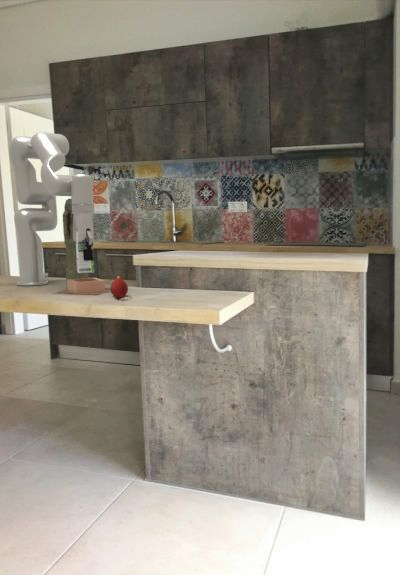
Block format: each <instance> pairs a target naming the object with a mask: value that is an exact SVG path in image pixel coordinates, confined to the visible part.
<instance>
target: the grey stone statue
mask: <svg viewBox="0 0 400 575" xmlns="http://www.w3.org/2000/svg"><path fill="white" fill-rule="evenodd" d="M73 216H74V214H72V198H67V199H66V200H65V203H64V211H63V213H62V225H63V226H62V227H63V240H64V245H65V256H66V258H65V260H66V268H65V281H66V282H65V283H67V280H68V279H83V278H90V277H89V273H78V272H77V257H76V241H74V240H73Z"/></svg>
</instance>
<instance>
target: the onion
mask: <svg viewBox="0 0 400 575" xmlns="http://www.w3.org/2000/svg"><path fill="white" fill-rule="evenodd" d="M128 287H129V286H128V284H127V282H126V281H125V280H124V279H123V278H121V276H119V275H117V276H116V279H114V280H113V281H112V282H111V284H110V288H111V289H110V290H111V291H110V293H111V294H112V296H113V297H115V298H116V299H117V300H119V301H120V300H121V299H123V298H124V297H125V296H126V295H127V293H128V291H129V288H128Z"/></svg>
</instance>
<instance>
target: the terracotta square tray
mask: <svg viewBox="0 0 400 575" xmlns="http://www.w3.org/2000/svg"><path fill="white" fill-rule="evenodd" d="M66 287H67V289H68V291H70V292H73V293H75V294H81V293H93V292H105V288H106V282H105V279H101V278H98V277H89V278H83V279H68V280H67V282H66ZM67 289H66V290H67Z"/></svg>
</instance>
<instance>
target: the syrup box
mask: <svg viewBox="0 0 400 575" xmlns="http://www.w3.org/2000/svg"><path fill="white" fill-rule="evenodd" d="M87 240H88V239H87ZM92 243H93V244H92V246H93V247H94V241H93V242H92ZM86 244H87V243H86ZM83 249H84V245H83V240H82V242H79V241H78V233H77V232H76V257H77V272H78V273H88V274H89V273H95V260H94V258H95V257H94V252H93V260H90V261H84V255H83ZM92 250H93V251H94V248H93V249H92Z"/></svg>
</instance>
